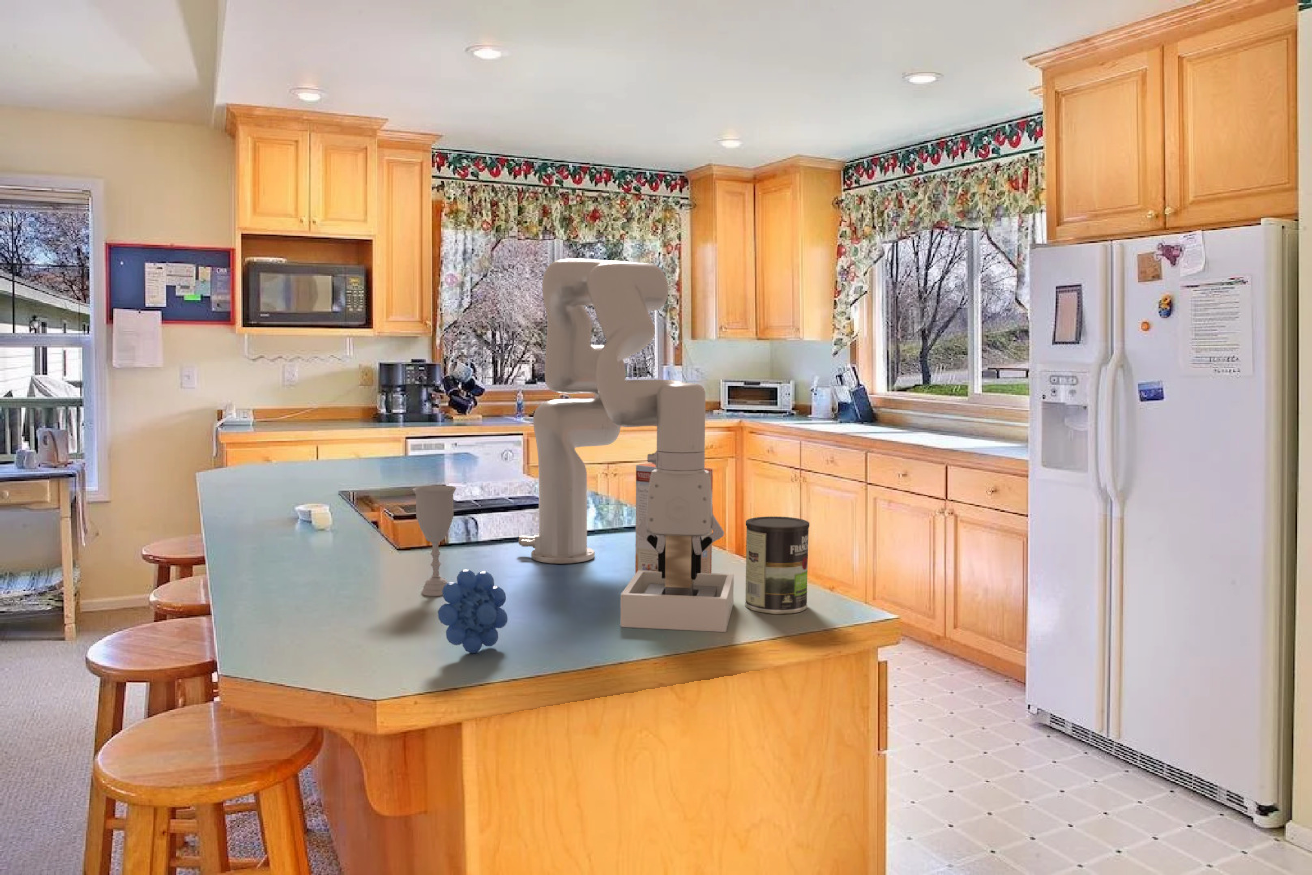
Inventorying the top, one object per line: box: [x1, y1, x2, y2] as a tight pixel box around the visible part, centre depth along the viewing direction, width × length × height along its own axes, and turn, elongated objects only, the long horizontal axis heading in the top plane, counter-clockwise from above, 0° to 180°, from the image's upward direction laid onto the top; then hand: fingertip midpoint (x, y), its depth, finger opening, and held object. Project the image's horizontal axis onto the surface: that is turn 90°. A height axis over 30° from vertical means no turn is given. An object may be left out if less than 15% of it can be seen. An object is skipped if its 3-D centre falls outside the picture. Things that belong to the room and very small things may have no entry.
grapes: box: [437, 569, 508, 654], centre depth 135 cm, size 12×7×12 cm, turn 139°
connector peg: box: [665, 536, 694, 596], centre depth 155 cm, size 4×4×12 cm
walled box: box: [620, 570, 735, 633], centre depth 155 cm, size 16×16×5 cm
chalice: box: [412, 485, 457, 597], centre depth 168 cm, size 7×7×18 cm
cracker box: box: [634, 462, 714, 575], centre depth 178 cm, size 14×6×21 cm, turn 47°
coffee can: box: [744, 516, 810, 615], centre depth 160 cm, size 10×10×14 cm
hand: (679, 575), depth 155 cm, fingers closed on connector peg, 4 cm apart
